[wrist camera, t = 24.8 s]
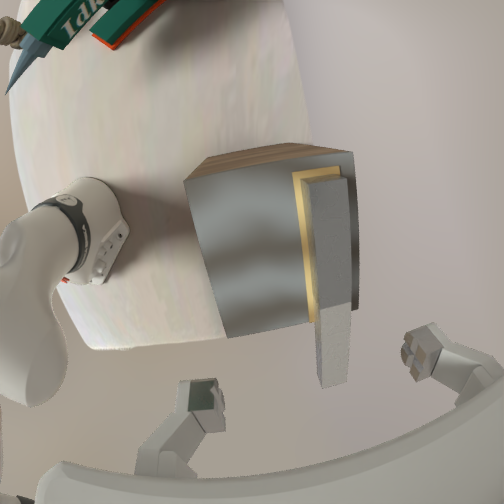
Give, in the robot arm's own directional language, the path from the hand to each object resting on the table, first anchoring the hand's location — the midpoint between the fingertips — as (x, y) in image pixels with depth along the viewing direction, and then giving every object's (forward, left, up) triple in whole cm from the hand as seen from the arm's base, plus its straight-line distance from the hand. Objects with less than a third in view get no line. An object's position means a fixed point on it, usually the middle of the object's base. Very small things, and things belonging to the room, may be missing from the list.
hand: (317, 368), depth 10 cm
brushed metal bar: (-3, -8, -14) cm, 16 cm away
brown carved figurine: (+13, +56, -41) cm, 70 cm away
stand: (-1, -2, -40) cm, 40 cm away
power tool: (+17, +36, -41) cm, 57 cm away
